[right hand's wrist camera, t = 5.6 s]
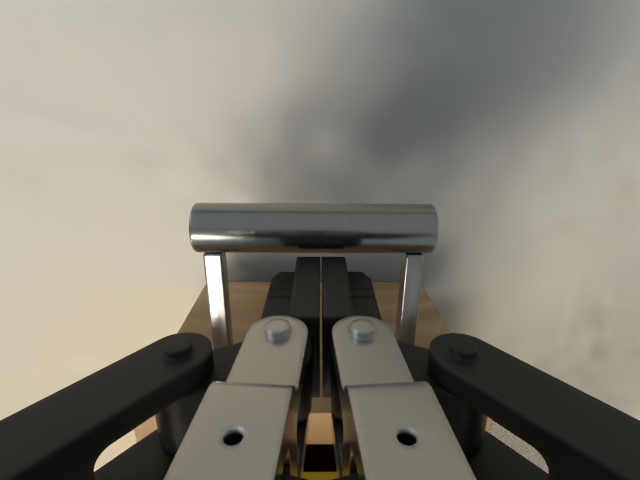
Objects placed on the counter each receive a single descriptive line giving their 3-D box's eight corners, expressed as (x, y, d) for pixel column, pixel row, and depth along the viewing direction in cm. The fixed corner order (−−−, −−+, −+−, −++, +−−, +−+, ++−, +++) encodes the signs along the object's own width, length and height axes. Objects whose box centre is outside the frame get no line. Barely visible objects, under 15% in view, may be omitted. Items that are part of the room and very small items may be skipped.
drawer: (195, 171, 17) (93, 237, 9) (432, 173, 17) (531, 239, 9) (233, 530, 25) (195, 727, 17) (393, 529, 25) (428, 725, 17)
